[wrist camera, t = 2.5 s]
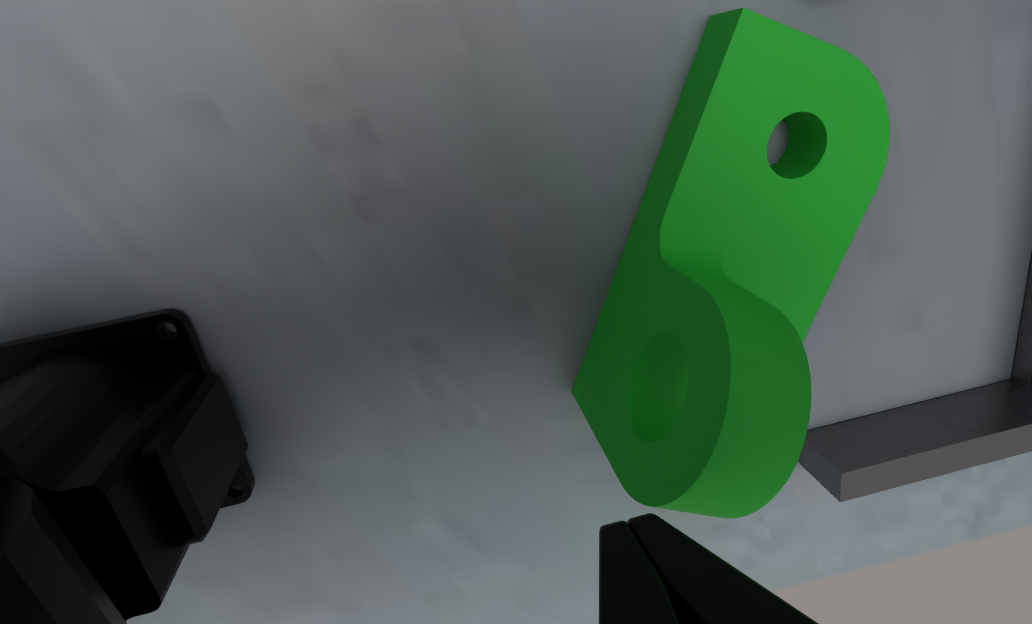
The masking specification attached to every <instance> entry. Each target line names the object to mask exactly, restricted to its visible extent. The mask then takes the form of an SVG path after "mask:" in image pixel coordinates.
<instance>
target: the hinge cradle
mask: <svg viewBox="0 0 1032 624" xmlns="http://www.w3.org/2000/svg"><path fill="white" fill-rule="evenodd" d="M1030 451H1032V259H1031V265H1030V271H1029V277H1028V283H1027V289H1026V295H1025V301H1024V307H1023V313H1022V319H1021V325H1020V331H1019V337H1018V343H1017V349H1016V356H1015V362H1014V368H1013V374H1012V379H1011V380H1007V381H1003V382H999V383H995V384H991V385H988V386H984V387H980V388H976V389H972V390H968V391H964V392H960V393H956V394H952V395H948V396H944V397H940V398H936V399H932V400H928V401H924V402H920V403H916V404H912V405H908V406H904V407H900V408H896V409H892V410H888V411H884V412H881V413H877V414H873V415H869V416H865V417H861V418H857V419H853V420H849V421H845V422H841V423H837V424H833V425H829V426H825V427H821V428H817V429H813V430H809V431H807V433H806V437H805V441H804V445H803V448H802V451H801V453H800V456H799V459H798V462H799V463H800V464H801V465H802V466H803V467H804V468H805V469H806V470H807V471H808V472H809V473H810V474H811V475H812V476H813V477H814V478H815V479H816V480H818V481H819V482H820V483H821V484H822V485H823V486H824V487H825V488H826V489H827V490H828V491H829V492H830V493H831V494H832V495H833V496H834V497H835V498H836V499H837V500H838V501H839V502H842V501H846V500H850V499H854V498H857V497H861V496H865V495H869V494H872V493H876V492H880V491H884V490H887V489H891V488H895V487H899V486H902V485H906V484H910V483H914V482H918V481H921V480H925V479H929V478H933V477H936V476H940V475H944V474H948V473H951V472H955V471H959V470H963V469H966V468H970V467H974V466H978V465H981V464H985V463H989V462H993V461H996V460H1000V459H1004V458H1008V457H1011V456H1015V455H1019V454H1023V453H1026V452H1030Z"/></svg>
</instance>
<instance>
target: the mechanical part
mask: <svg viewBox="0 0 1032 624" xmlns="http://www.w3.org/2000/svg"><path fill="white" fill-rule="evenodd" d="M782 119H785V121H786V123H787V126H788V130H789V140H788V145H787V148H786V150H785V152H784V154H783V156H782V157H781V158H780V159H779V161H778V162H777V163H775V164H774V165H773V166H771V167H770V165H769V163H768V159H767V144H768V140H769V137H770V135H771V133H772V131H773V129H774V128H775V127H776V125H777V124H778V123H779V122H780V121H781V120H782ZM889 136H890V131H889V117H888V110H887V106H886V102H885V99H884V96H883V93H882V91H881V89H880V87H879V85H878V83H877V81H876V79H875V78H874V76H873V75H872V73H871V72H870V71H869V70H868V68H867V67H866V66H865V65H864V64H863V63H862V62H861V61H860V60H858V59H857V58H856V57H854V56H853V55H851V54H850V53H848V52H846V51H844V50H842V49H841V48H838V47H836V46H834V45H831V44H829V43H826V42H824V41H822V40H819V39H817V38H814V37H812V36H810V35H807V34H805V33H802V32H800V31H798V30H795V29H793V28H791V27H788V26H786V25H783V24H781V23H779V22H776V21H774V20H771V19H769V18H767V17H764V16H762V15H760V14H757V13H755V12H752V11H750V10H748V9H745V8H741V9H736V10H732V11H728V12H724V13H720V14H716V15H712V16H710V17H709V20H708V22H707V25H706V28H705V31H704V33H703V36H702V39H701V41H700V44H699V47H698V50H697V52H696V55H695V58H694V61H693V63H692V66H691V69H690V71H689V74H688V77H687V80H686V82H685V85H684V88H683V90H682V93H681V96H680V99H679V101H678V104H677V107H676V109H675V112H674V115H673V118H672V120H671V123H670V126H669V128H668V131H667V134H666V137H665V139H664V142H663V145H662V147H661V150H660V153H659V156H658V158H657V161H656V164H655V166H654V169H653V172H652V175H651V177H650V180H649V183H648V186H647V188H646V191H645V194H644V196H643V199H642V202H641V205H640V207H639V210H638V213H637V215H636V218H635V221H634V224H633V226H632V229H631V232H630V234H629V237H628V240H627V243H626V245H625V248H624V251H623V253H622V256H621V259H620V262H619V264H618V267H617V270H616V272H615V275H614V278H613V281H612V283H611V286H610V289H609V292H608V294H607V297H606V300H605V302H604V305H603V308H602V311H601V313H600V316H599V319H598V321H597V324H596V327H595V330H594V332H593V335H592V338H591V340H590V343H589V346H588V349H587V351H586V354H585V357H584V359H583V362H582V365H581V368H580V370H579V373H578V376H577V378H576V381H575V384H574V387H573V389H572V393H573V395H574V397H575V399H576V401H577V403H578V405H579V406H580V408H581V410H582V412H583V414H584V416H585V418H586V419H587V421H588V423H589V425H590V427H591V429H592V431H593V432H594V434H595V436H596V438H597V440H598V442H599V444H600V445H601V447H602V449H603V451H604V453H605V455H606V457H607V459H608V460H609V462H610V464H611V466H612V468H613V470H614V472H615V473H616V475H617V477H618V479H619V481H620V483H621V484H622V486H623V488H624V489H625V490H626V492H627V493H628V494H629V495H630V496H631V497H632V498H633V499H634V500H636V501H637V502H639V503H641V504H643V505H647V506H651V507H658V508H664V509H670V510H677V511H683V512H689V513H695V514H702V515H708V516H714V517H720V518H739V517H743V516H746V515H749V514H751V513H753V512H755V511H757V510H759V509H760V508H761V507H763V506H764V505H766V504H767V503H768V502H769V501H770V500H771V499H773V497H774V496H775V495H776V494H777V493H778V492H779V491H780V490H781V488H782V487H783V486H784V484H785V483H786V482H787V480H788V478H789V477H790V475H791V473H792V472H793V470H794V468H795V466H796V463H797V461H798V459H799V456H800V453H801V451H802V448H803V445H804V441H805V437H806V433H807V429H808V423H809V417H810V407H811V382H810V372H809V365H808V361H807V357H806V353H805V350H804V347H803V344H802V342H803V340H804V338H805V335H806V333H807V331H808V329H809V327H810V325H811V323H812V321H813V319H814V317H815V315H816V313H817V311H818V309H819V307H820V304H821V302H822V300H823V298H824V296H825V294H826V292H827V290H828V288H829V286H830V284H831V282H832V280H833V278H834V275H835V273H836V271H837V269H838V267H839V265H840V263H841V261H842V259H843V257H844V255H845V253H846V251H847V249H848V247H849V244H850V242H851V240H852V238H853V236H854V234H855V232H856V230H857V228H858V226H859V224H860V222H861V220H862V218H863V215H864V213H865V211H866V209H867V207H868V205H869V203H870V201H871V199H872V197H873V195H874V193H875V191H876V188H877V186H878V184H879V182H880V179H881V176H882V173H883V170H884V167H885V163H886V159H887V154H888V148H889Z"/></svg>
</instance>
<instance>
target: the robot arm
mask: <svg viewBox="0 0 1032 624" xmlns="http://www.w3.org/2000/svg"><path fill="white" fill-rule="evenodd" d="M163 322H168V323H171V324H173V325H174V326H175V328H176V329H177V333H176V334H170V333H168V332H166V331H165V330H164V329H163V325H162V323H163ZM247 447H248V444H247V441H246V438H245V436H244V433H243V431H242V428H241V426H240V423H239V421H238V418H237V416H236V413H235V411H234V408H233V406H232V403H231V401H230V398H229V396H228V393H227V391H226V388H225V386H224V383H223V381H222V378H221V377H220V376H218V375H217V374H215V373H214V372H212V371H210V369H209V367H208V364H207V362H206V359H205V357H204V354H203V352H202V349H201V347H200V344H199V342H198V339H197V337H196V335H195V332H194V330H193V327H192V325H191V322H190V321H189V319H188V318H187V316H186V315H184V314H183V313H182V312H180V311H177V310H174V309H165V310H160V311H155V312H151V313H146V314H141V315H136V316H131V317H127V318H122V319H117V320H112V321H107V322H103V323H98V324H93V325H88V326H83V327H79V328H74V329H69V330H64V331H59V332H55V333H50V334H45V335H40V336H35V337H31V338H26V339H21V340H16V341H11V342H7V343H2V344H0V624H127V623H126V620H127V619H129V618H132V617H135V616H139V615H143V614H147V613H151V612H153V611H155V610H157V609H158V608H159V607H160V605H161V603H162V601H163V599H164V597H165V595H166V593H167V591H168V589H169V587H170V585H171V583H172V580H173V578H174V576H175V574H176V572H177V570H178V568H179V566H180V564H181V562H182V560H183V558H184V556H185V553H186V551H187V549H188V547H189V545H190V544H194V543H198V542H202V541H203V540H204V539H205V537H206V535H207V534H208V532H209V531H210V529H211V527H212V525H213V522H214V520H215V518H216V516H217V513H218V511H219V509H220V508H223V507H227V506H231V505H235V504H240V503H242V502H245V501H246V500H247V499H248V498H249V497H250V496H251V493H252V491H253V488H254V485H255V481H254V477H253V475H252V472H251V470H250V467H249V465H248V463H247V460H246V458H245V455H244V454H245V451H246V449H247ZM231 484H238V485H241V486H242V488H243V489H234V488H232V487H231V486H230V485H231ZM599 624H818V623H816V622H815V621H814V620H812V619H811V618H809V617H808V616H806V615H805V614H803V613H802V612H800V611H799V610H797V609H796V608H794V607H793V606H791V605H790V604H788V603H787V602H785V601H784V600H782V599H781V598H779V597H778V596H776V595H775V594H773V593H772V592H770V591H769V590H767V589H766V588H764V587H763V586H761V585H760V584H758V583H757V582H755V581H754V580H752V579H751V578H749V577H748V576H746V575H745V574H743V573H742V572H740V571H739V570H737V569H736V568H735V567H733V566H732V565H730V564H729V563H727V562H726V561H724V560H723V559H721V558H720V557H718V556H717V555H715V554H714V553H712V552H711V551H709V550H708V549H706V548H705V547H703V546H702V545H700V544H699V543H697V542H696V541H694V540H693V539H691V538H690V537H688V536H687V535H685V534H684V533H682V532H681V531H679V530H678V529H676V528H675V527H673V526H672V525H670V524H669V523H667V522H666V521H664V520H663V519H661V518H660V517H658V516H657V515H655V514H652V513H649V514H645V515H641V516H637V517H634V518H630V519H629V520H628V521H627V523H626V522H625V521H618V522H615V523H611V524H607V525H603V526H601V527H600V531H599Z"/></svg>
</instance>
